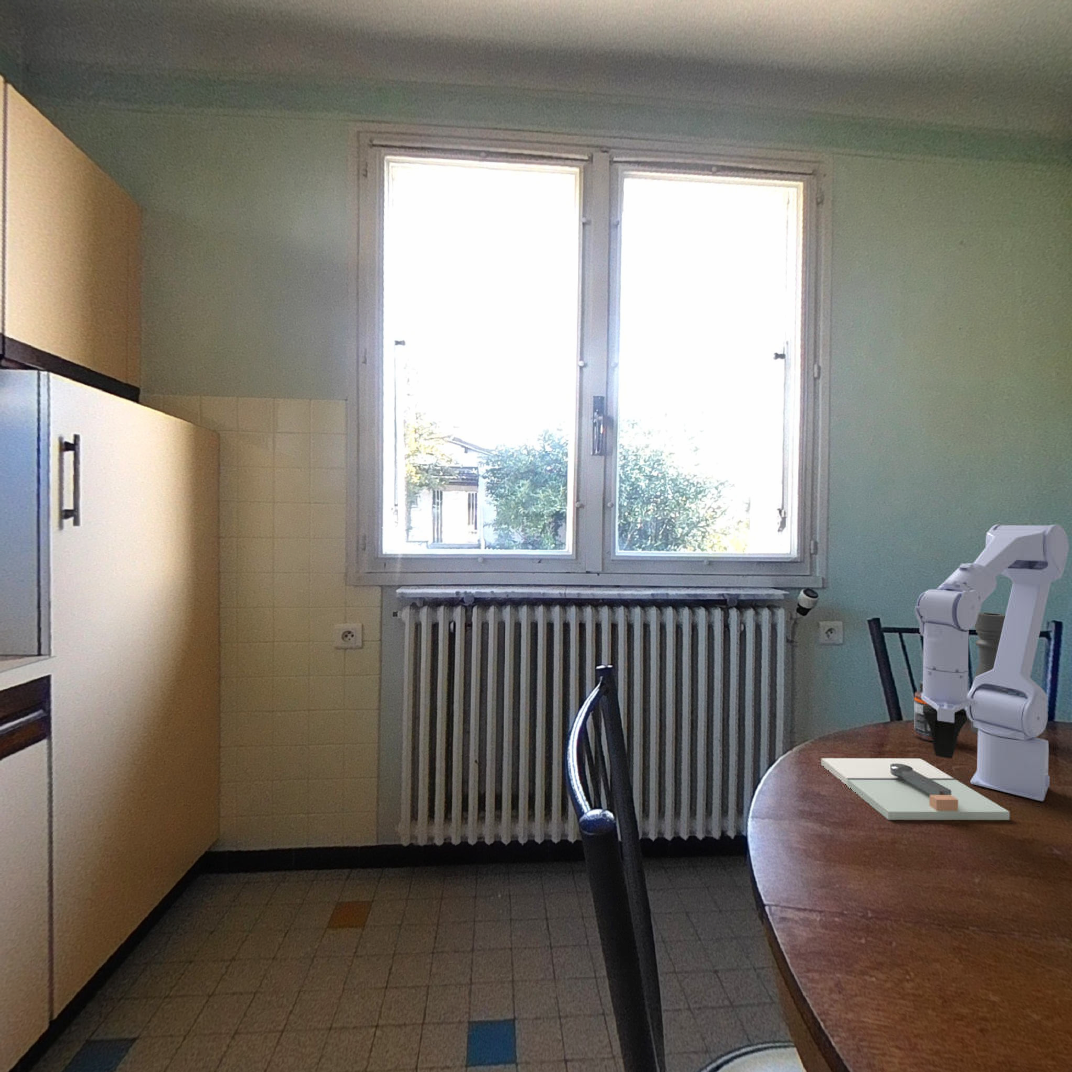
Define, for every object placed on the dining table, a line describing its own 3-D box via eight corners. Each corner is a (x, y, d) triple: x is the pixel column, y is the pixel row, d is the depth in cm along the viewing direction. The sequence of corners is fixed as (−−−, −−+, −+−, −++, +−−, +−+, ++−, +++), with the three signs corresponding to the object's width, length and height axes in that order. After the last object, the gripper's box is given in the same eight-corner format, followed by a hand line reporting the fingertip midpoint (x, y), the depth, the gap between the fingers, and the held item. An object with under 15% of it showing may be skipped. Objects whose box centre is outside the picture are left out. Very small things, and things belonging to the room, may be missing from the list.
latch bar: (885, 771, 103) (885, 763, 103) (903, 770, 103) (903, 762, 103) (935, 799, 92) (935, 791, 92) (954, 797, 93) (954, 790, 93)
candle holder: (1000, 730, 130) (1003, 613, 129) (1012, 739, 124) (1015, 617, 124) (966, 726, 132) (969, 611, 131) (976, 736, 126) (979, 615, 126)
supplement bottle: (938, 733, 128) (939, 679, 127) (955, 743, 122) (956, 687, 122) (908, 732, 128) (909, 678, 128) (923, 742, 122) (924, 686, 122)
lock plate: (920, 765, 111) (920, 749, 110) (1009, 819, 90) (1009, 801, 90) (821, 764, 110) (821, 749, 110) (888, 819, 90) (888, 800, 90)
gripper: (981, 682, 86) (979, 778, 86) (973, 662, 98) (972, 746, 98) (921, 675, 89) (919, 767, 90) (921, 657, 102) (920, 738, 102)
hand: (943, 756), depth 94 cm, fingers closed
